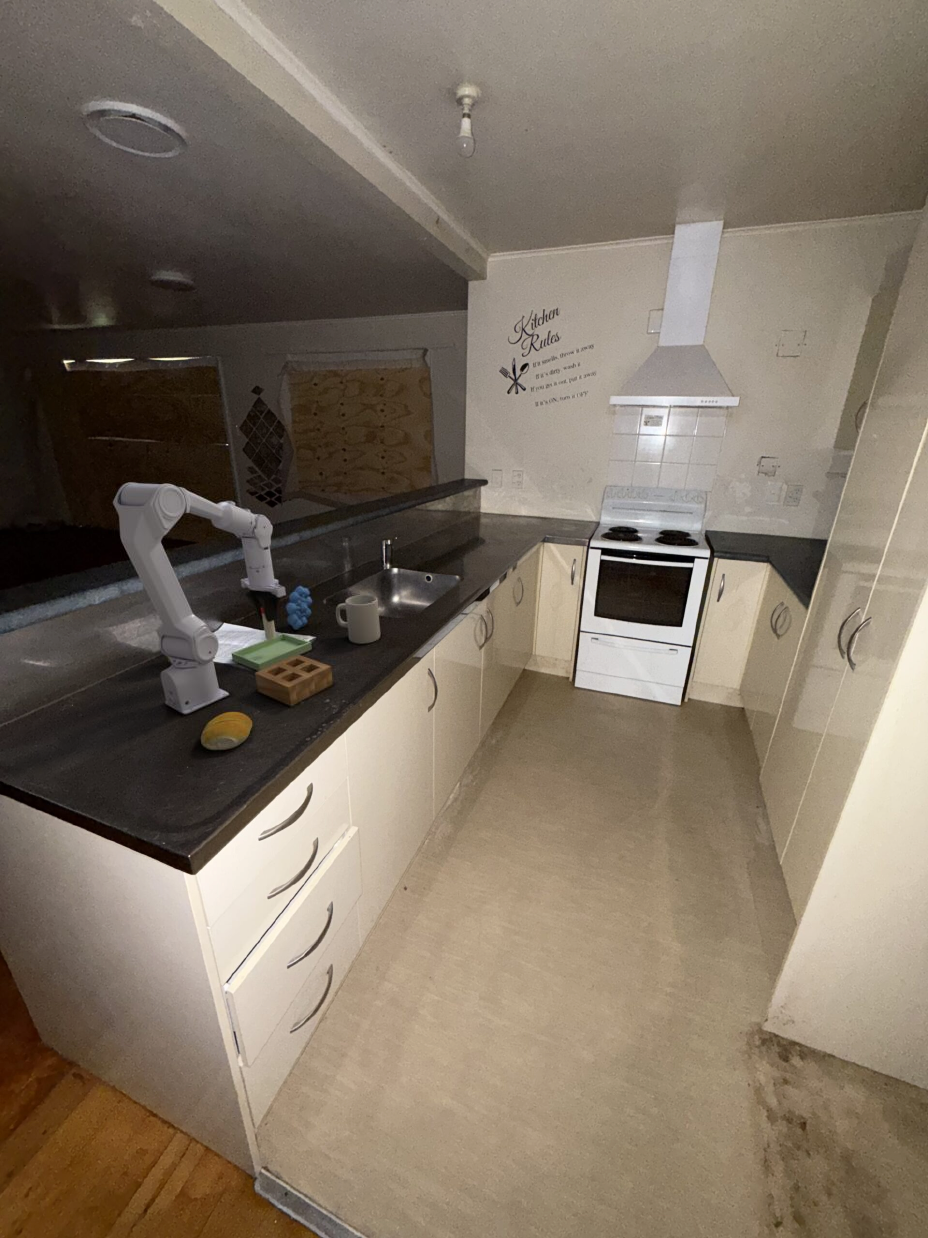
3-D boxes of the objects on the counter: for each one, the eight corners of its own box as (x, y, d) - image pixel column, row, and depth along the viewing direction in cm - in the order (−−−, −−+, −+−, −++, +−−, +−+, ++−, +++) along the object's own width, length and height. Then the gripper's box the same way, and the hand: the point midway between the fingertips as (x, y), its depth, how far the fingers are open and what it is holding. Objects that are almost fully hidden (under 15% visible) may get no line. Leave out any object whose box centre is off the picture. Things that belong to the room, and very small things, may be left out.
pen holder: (291, 706, 99) (288, 687, 98) (257, 691, 105) (254, 673, 103) (333, 684, 108) (331, 666, 106) (300, 671, 114) (297, 654, 112)
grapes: (299, 618, 146) (293, 580, 142) (319, 620, 145) (315, 581, 140) (277, 633, 135) (271, 592, 131) (299, 635, 134) (293, 594, 130)
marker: (269, 640, 119) (264, 610, 116) (263, 638, 120) (258, 608, 118) (278, 637, 121) (273, 607, 118) (272, 635, 122) (267, 605, 119)
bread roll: (255, 721, 94) (252, 703, 93) (247, 748, 86) (243, 729, 85) (209, 726, 92) (205, 708, 91) (196, 754, 84) (191, 735, 83)
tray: (260, 671, 114) (259, 664, 113) (232, 660, 119) (231, 652, 119) (312, 649, 125) (311, 642, 125) (284, 639, 131) (283, 633, 131)
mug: (385, 632, 136) (382, 595, 132) (373, 645, 128) (370, 605, 124) (345, 629, 138) (341, 593, 134) (331, 641, 130) (327, 602, 126)
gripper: (293, 566, 113) (300, 620, 118) (255, 557, 121) (264, 609, 126) (266, 572, 108) (275, 629, 113) (229, 563, 115) (239, 617, 120)
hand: (267, 619), depth 119 cm, fingers closed on marker, 2 cm apart
